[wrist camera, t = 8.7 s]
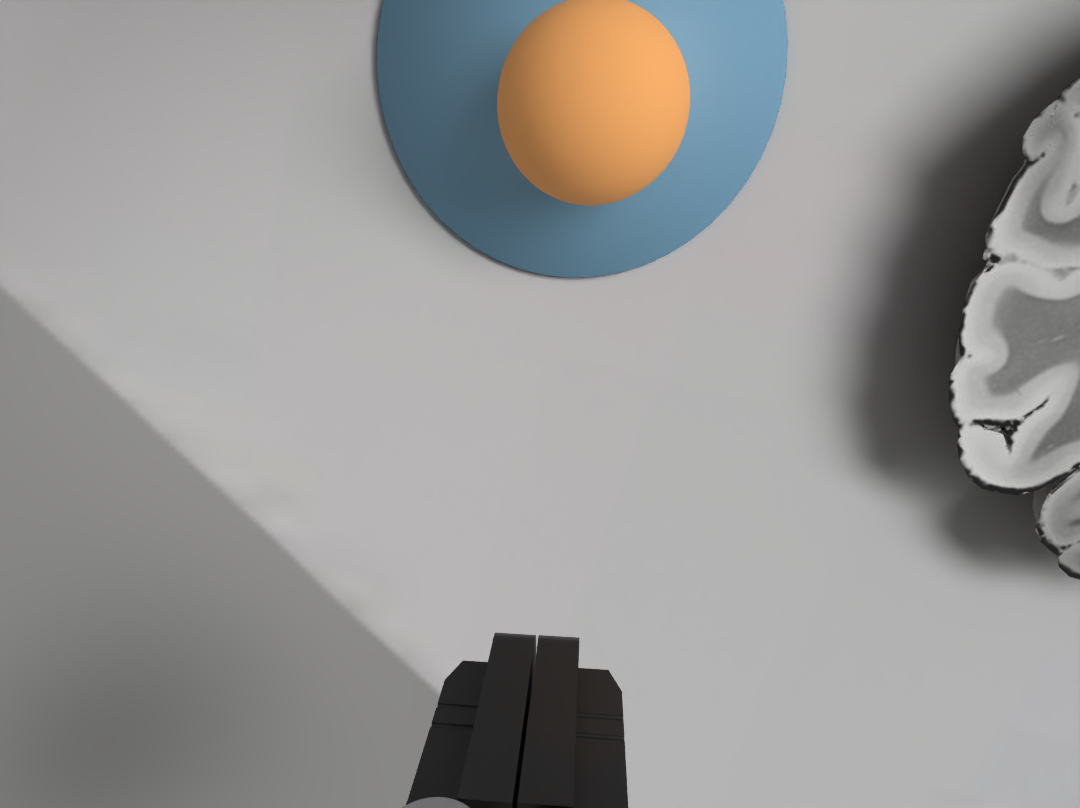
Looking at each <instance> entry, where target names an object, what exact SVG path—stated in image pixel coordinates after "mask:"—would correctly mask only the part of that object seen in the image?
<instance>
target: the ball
mask: <svg viewBox="0 0 1080 808" xmlns="http://www.w3.org/2000/svg"><path fill="white" fill-rule="evenodd" d="M689 110H690V84H689V77H688V72H687V68H686V64H685V61H684V59H683V56H682V54H681V51H680V49H679V47H678V46H677V44H676V42H675V40H674V38H673V37H672V36H671V34H670V33H669V32H668V30H667V29H666V28H665V27H664V26H663V25H662V23H661V22H660V21H659V20H658V19H657V18H655V17H654V16H653V15H652V14H650V13H649V12H648V11H646V10H645V9H643V8H641V7H639V6H638V5H636V4H634V3H632V2H629V1H626V0H566V1H564V2H562V3H559V4H557V5H555V6H553V7H551V8H550V9H548V10H546V11H545V12H543V13H542V14H541V15H539V16H538V17H537V18H536V19H534V20H533V21H532V22H531V23H530V24H529V25H528V26H527V27H526V28H525V29H524V30H523V32H522V33H521V34H520V36H519V37H518V38H517V40H516V41H515V43H514V44H513V46H512V48H511V50H510V52H509V54H508V55H507V58H506V61H505V63H504V66H503V68H502V72H501V76H500V80H499V86H498V94H497V114H498V122H499V127H500V131H501V135H502V139H503V141H504V144H505V146H506V149H507V151H508V153H509V155H510V157H511V158H512V160H513V162H514V163H515V165H516V166H517V168H518V169H519V170H520V172H521V173H522V174H523V175H524V176H525V177H526V178H527V179H528V180H529V181H530V182H531V183H532V184H533V185H534V186H536V187H537V188H538V189H540V190H541V191H543V192H544V193H546V194H548V195H550V196H552V197H554V198H556V199H558V200H561V201H564V202H567V203H571V204H576V205H587V206H596V205H604V204H610V203H614V202H617V201H621V200H623V199H626V198H628V197H630V196H632V195H634V194H636V193H638V192H639V191H641V190H643V189H644V188H646V187H647V186H648V185H649V184H650V183H652V182H653V181H654V180H655V179H656V178H657V177H658V176H659V175H660V174H661V173H662V172H663V171H664V170H665V169H666V167H667V166H668V164H669V163H670V162H671V160H672V159H673V157H674V155H675V154H676V152H677V150H678V148H679V146H680V144H681V141H682V139H683V136H684V133H685V130H686V126H687V122H688V117H689Z"/></svg>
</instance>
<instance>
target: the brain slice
mask: <svg viewBox="0 0 1080 808" xmlns="http://www.w3.org/2000/svg"><path fill="white" fill-rule="evenodd" d="M1022 154H1023V155H1024V157H1025V160H1024V164H1023V166H1022V167H1021V168H1020V170H1019V171H1018V172H1017V173H1016V174H1015V176H1014V177H1013V178H1012V180H1011V182H1010V184H1009V186H1008V188H1007V190H1006V192H1005V194H1004V196H1003V198H1002V200H1001V202H1000V204H999V206H998V208H997V210H996V212H995V214H994V216H993V218H992V220H991V223H990V225H989V227H988V230H987V232H986V235H985V242H986V247H985V250H984V254H983V257H982V258H983V259H984V260H985V261H986V262H987V264H986V266H985V267H984V269H983V270H982V271H981V272H980V273H979V274H978V275H977V276H976V277H975V278H974V279H973V280H972V281H971V283H970V285H969V289H968V292H967V295H966V299H965V302H964V306H963V311H962V316H961V322H960V329H959V335H958V341H957V347H956V357H955V368H954V370H953V371H952V373H951V375H950V381H949V402H950V407H951V412H952V417H953V420H954V421H955V423H956V424H957V426H958V427H959V428H960V429H959V435H958V441H957V445H958V454H959V459H960V461H961V463H962V465H963V467H964V469H965V471H966V473H967V475H968V477H969V478H970V479H971V480H972V481H974V482H975V483H976V484H977V485H978V486H979V487H980V488H982V489H986V490H989V491H993V492H998V493H1006V494H1014V495H1020V494H1025V493H1029V492H1033V491H1034V495H1033V504H1032V509H1033V513H1034V517H1035V521H1036V529H1035V530H1036V532H1037V533H1038V537H1039V539H1040V542H1042V543H1043V544H1044V545H1045V546H1046V547H1047V548H1049V549H1050V550H1051V551H1052V552H1053V553H1054V554H1056V555H1057V556H1058V563H1059V567H1060V568H1061V569H1062V570H1063V571H1064V572H1065V573H1066V574H1067V575H1068V576H1070V577H1073V578H1075V579H1078V580H1080V76H1079V77H1078V78H1077V79H1076V80H1074V81H1073V82H1072V83H1071V84H1070V85H1068V86H1067V87H1066V88H1065V89H1064V90H1063V91H1062V93H1061V95H1060V97H1059V99H1058V100H1056V101H1054V102H1053V103H1052V104H1050V105H1049V106H1048V107H1047V108H1045V109H1044V110H1043V111H1042V112H1040V113H1039V114H1038V115H1037V116H1035V118H1034V119H1033V121H1032V123H1031V124H1030V126H1029V128H1028V130H1027V131H1026V133H1025V135H1024V136H1023V144H1022Z"/></svg>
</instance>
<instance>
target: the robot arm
mask: <svg viewBox="0 0 1080 808" xmlns="http://www.w3.org/2000/svg"><path fill="white" fill-rule="evenodd" d="M578 660H579V638H574V637H558V636H542V635H539V638H538V645H537V653H536V635H523V634H507V633H495V635H494V638H493V643H492V647H491V652H490V656H489V660H488V662H475V661H462V662H461V663H460V664H459V666H458V667H457V668H456V669H455V670H454V671H453V672H452V673H451V674H450V675H449V676H448V677H447V678H446V679H445V682H444V685H443V688H442V691H441V694H440V698H439V701H438V707H437V708H436V711H435V714H434V717H433V720H432V726H431V727H430V730H429V733H428V737H427V740H426V743H425V746H424V749H423V753H422V756H421V759H420V762H419V765H418V769H417V772H416V775H415V778H414V782H413V785H412V788H411V791H410V795H409V798H408V801H407V803H406V806H404V807H403V808H628V796H627V778H626V760H625V742H624V724H623V705H622V691H621V690H620V688H619V686H618V685H617V683H616V682H615V680H614V678H613V677H612V675H611V673H610V672H609V670H600V669H585V668H578Z"/></svg>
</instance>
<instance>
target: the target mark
mask: <svg viewBox="0 0 1080 808" xmlns="http://www.w3.org/2000/svg"><path fill="white" fill-rule="evenodd" d="M564 1H566V0H384V2H383V6H382V10H381V16H380V23H379V31H378V38H377V76H378V86H379V95H380V101H381V106H382V110H383V115H384V119H385V124H386V127H387V130H388V133H389V136H390V138H391V141H392V144H393V147H394V150H395V152H396V154H397V156H398V158H399V160H400V162H401V164H402V167H403V169H404V171H405V173H406V175H407V176H408V178H409V179H410V181H411V183H412V184H413V186H414V187H415V189H416V190H417V192H418V193H419V195H420V196H421V198H422V199H423V200H424V201H425V203H426V204H427V205H428V206H429V207H430V209H431V210H432V211H433V212H434V213H435V214H436V216H437V217H438V218H439V219H440V220H441V221H442V222H443V223H445V224H446V225H447V226H448V227H449V228H450V229H451V230H452V231H453V232H454V233H455V234H456V235H458V236H459V237H461V238H462V239H463V240H465V241H466V242H468V243H469V244H470V245H472V246H473V247H475V248H476V249H477V250H479V251H481V252H483V253H485V254H487V255H489V256H491V257H493V258H494V259H496V260H498V261H500V262H503V263H506V264H508V265H511V266H514V267H516V268H519V269H522V270H526V271H530V272H534V273H539V274H543V275H549V276H559V277H570V278H574V277H597V276H602V275H608V274H614V273H620V272H623V271H626V270H630V269H633V268H636V267H639V266H643V265H645V264H648V263H650V262H652V261H654V260H656V259H659V258H661V257H663V256H665V255H667V254H669V253H671V252H672V251H674V250H675V249H677V248H679V247H680V246H682V245H684V244H685V243H687V242H688V241H690V240H691V239H693V238H694V237H695V236H696V235H697V234H699V233H700V232H701V231H702V230H704V229H705V228H706V227H707V226H709V225H710V224H711V223H712V222H713V221H714V220H715V219H716V218H717V217H718V216H719V215H720V214H721V213H722V212H723V211H724V210H725V209H726V208H727V206H728V205H729V204H730V203H731V202H732V201H733V199H734V198H735V197H736V195H737V194H738V193H739V191H740V190H741V189H742V187H743V186H744V185H745V183H746V182H747V180H748V179H749V177H750V175H751V174H752V172H753V170H754V168H755V167H756V165H757V163H758V162H759V160H760V158H761V156H762V154H763V152H764V149H765V147H766V145H767V142H768V140H769V138H770V135H771V133H772V131H773V128H774V124H775V121H776V118H777V114H778V111H779V108H780V104H781V100H782V94H783V88H784V82H785V77H786V66H787V46H788V40H787V26H786V12H785V7H784V2H783V0H626V1H629V2H632V3H634V4H636V5H638V6H639V7H641V8H643V9H645V10H646V11H648V12H649V13H650V14H652V15H653V16H654V17H655V18H657V19H658V20H659V21H660V22H661V23H662V25H663V26H664V27H665V28H666V29H667V30H668V32H669V33H670V34H671V36H672V37H673V38H674V40H675V42H676V44H677V46H678V47H679V49H680V51H681V54H682V56H683V59H684V61H685V64H686V68H687V72H688V77H689V84H690V110H689V117H688V122H687V126H686V130H685V133H684V136H683V139H682V141H681V144H680V146H679V148H678V150H677V152H676V154H675V155H674V157H673V159H672V160H671V162H670V163H669V164H668V166H667V167H666V169H665V170H664V171H663V172H662V173H661V174H660V175H659V176H658V177H657V178H656V179H655V180H654V181H653V182H652V183H650V184H649V185H648V186H647V187H646V188H644V189H643V190H641V191H639V192H638V193H636V194H634V195H632V196H630V197H628V198H626V199H623V200H621V201H617V202H614V203H610V204H604V205H596V206H587V205H576V204H571V203H567V202H564V201H561V200H558V199H556V198H554V197H552V196H550V195H548V194H546V193H544V192H543V191H541V190H540V189H538V188H537V187H536V186H534V185H533V184H532V183H531V182H530V181H529V180H528V179H527V178H526V177H525V176H524V175H523V174H522V173H521V172H520V170H519V169H518V168H517V166H516V165H515V163H514V162H513V160H512V158H511V157H510V155H509V153H508V151H507V149H506V146H505V144H504V141H503V139H502V135H501V131H500V127H499V122H498V114H497V94H498V86H499V80H500V76H501V72H502V68H503V66H504V63H505V61H506V58H507V55H508V54H509V52H510V50H511V48H512V46H513V44H514V43H515V41H516V40H517V38H518V37H519V36H520V34H521V33H522V32H523V30H524V29H525V28H526V27H527V26H528V25H529V24H530V23H531V22H532V21H533V20H534V19H536V18H537V17H538V16H539V15H541V14H542V13H543V12H545V11H546V10H548V9H550V8H551V7H553V6H555V5H557V4H559V3H562V2H564Z"/></svg>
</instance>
